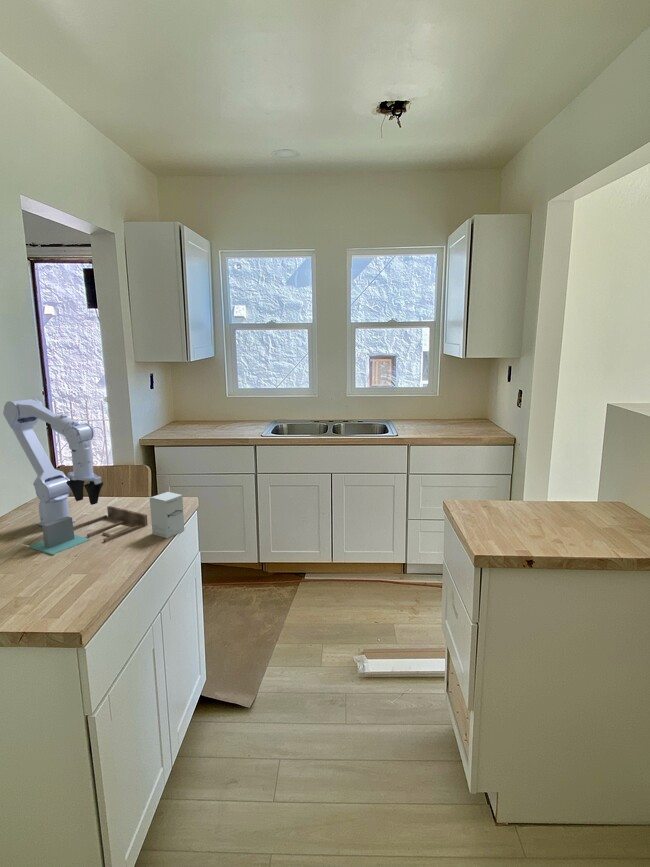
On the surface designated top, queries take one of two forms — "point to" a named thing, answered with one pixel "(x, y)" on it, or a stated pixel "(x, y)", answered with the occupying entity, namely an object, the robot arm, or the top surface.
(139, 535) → the top surface
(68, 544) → the mat
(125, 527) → the offcut top
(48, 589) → the top surface
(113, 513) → the rack
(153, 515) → the supplement box
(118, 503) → the top surface
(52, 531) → the block
